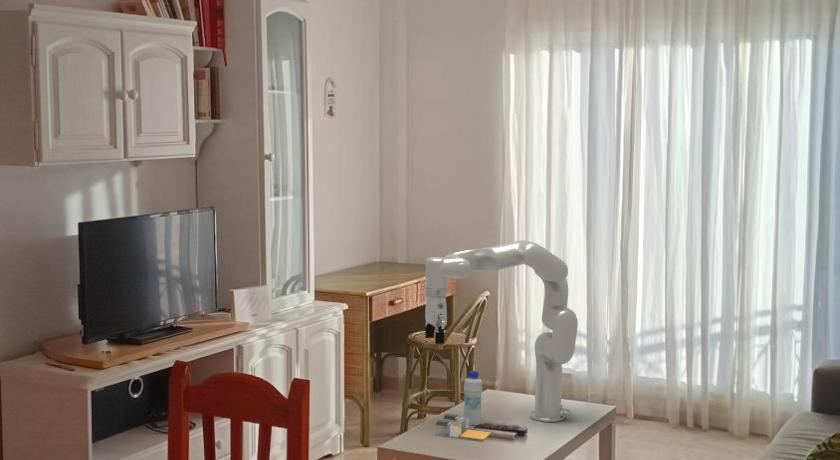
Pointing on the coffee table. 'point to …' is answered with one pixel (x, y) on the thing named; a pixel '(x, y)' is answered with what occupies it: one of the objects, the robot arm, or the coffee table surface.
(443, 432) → the panel
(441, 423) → the lever
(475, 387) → the bottle
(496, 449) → the coffee table surface
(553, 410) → the robot arm
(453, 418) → the lever
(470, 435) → the pad
